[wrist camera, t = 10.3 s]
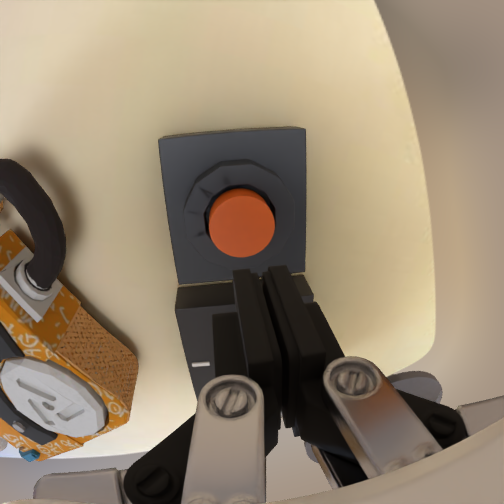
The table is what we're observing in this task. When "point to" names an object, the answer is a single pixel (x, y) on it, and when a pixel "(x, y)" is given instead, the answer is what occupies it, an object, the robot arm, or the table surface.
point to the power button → (241, 223)
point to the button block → (227, 178)
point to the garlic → (2, 444)
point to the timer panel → (209, 323)
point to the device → (52, 339)
